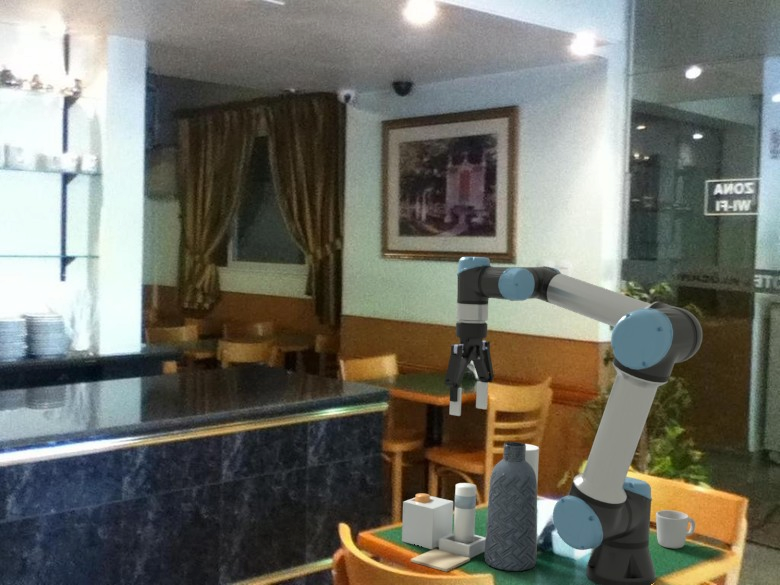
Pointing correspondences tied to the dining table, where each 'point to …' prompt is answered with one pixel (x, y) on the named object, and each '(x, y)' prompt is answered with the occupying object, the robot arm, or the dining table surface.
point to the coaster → (440, 560)
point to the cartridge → (464, 513)
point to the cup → (673, 528)
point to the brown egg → (422, 498)
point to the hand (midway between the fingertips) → (468, 411)
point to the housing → (435, 527)
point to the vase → (512, 512)
